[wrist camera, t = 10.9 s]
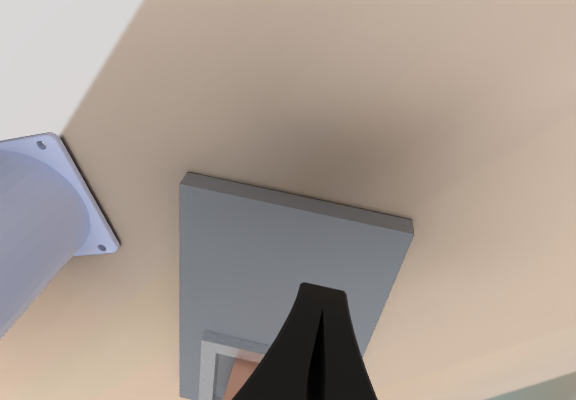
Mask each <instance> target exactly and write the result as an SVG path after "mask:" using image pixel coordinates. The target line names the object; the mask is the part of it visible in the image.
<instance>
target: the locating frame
mask: <svg viewBox="0 0 576 400" xmlns="http://www.w3.org/2000/svg"><path fill="white" fill-rule="evenodd" d="M270 346H271V345H268V344H264V343H260V342H255V341H251V340H247V339H242V338H238V337H233V336H229V335H225V334H220V333H216V332H212V331H207V330H205V332H204V335H203V337H202V340H201V361H200V381H199V400H223V397H220V396H215V387H216V376H217V364H218V354H222V355H227V356H231V357H235V358H240V359H244V360H248V361H253V362H257V363H260V362H261V360H262V359H263V357H264V356H265V354H266V353H267V351H268V349H269V348H270Z"/></svg>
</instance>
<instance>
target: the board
mask: <svg viewBox="0 0 576 400" xmlns="http://www.w3.org/2000/svg"><path fill="white" fill-rule="evenodd" d="M413 236H414V229H413V222H412V220H410V219H405V218H401V217H396V216H391V215H387V214H382V213H377V212H372V211H368V210H363V209H358V208H354V207H349V206H344V205H340V204H335V203H330V202H326V201H321V200H316V199H312V198H307V197H302V196H298V195H293V194H288V193H284V192H279V191H274V190H270V189H265V188H260V187H255V186H251V185H246V184H241V183H237V182H232V181H227V180H223V179H218V178H213V177H209V176H204V175H199V174H195V173H190V172H188V173H187V174H186V176H185V177H184V178H183V180H182V181H181V183H180V397H183V398H187V399H191V400H199V381H200V361H201V340H202V337H203V335H204V332H205V330H207V331H212V332H216V333H220V334H225V335H229V336H233V337H238V338H242V339H247V340H251V341H255V342H260V343H264V344H268V345H272V343H273V342H274V340H275V339H276V337H277V335H278V333H279V332H280V330H281V328H282V326H283V324H284V323H285V321H286V319H287V317H288V315H289V313H290V311H291V309H292V307H293V304H294V302H295V299H296V297H297V294H298V291H299V286H300V284H301V283H303V282H306V283H311V284H315V285H320V286H324V287H329V288H333V289H338V290H342V291H345V293H346V294H347V300H348V306H349V312H350V316H351V321H352V325H353V329H354V333H355V336H356V340H357V343H358V346H359V350H360V353H361V356H362V358H363V355H364V353H365V350H366V348H367V346H368V343H369V341H370V339H371V336H372V334H373V331H374V329H375V327H376V324H377V322H378V320H379V317H380V315H381V312H382V310H383V308H384V305H385V303H386V300H387V298H388V296H389V293H390V291H391V289H392V286H393V284H394V281H395V279H396V277H397V274H398V272H399V269H400V267H401V265H402V262H403V260H404V258H405V255H406V253H407V250H408V248H409V246H410V243H411V241H412V239H413ZM234 362H235V357H231V356H227V355H222V354H218V364H217V376H216V387H215V396H220V397H224V393H225V390H226V387H227V384H228V380H229V377H230V374H231V371H232V368H233V365H234Z"/></svg>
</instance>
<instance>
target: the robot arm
mask: <svg viewBox="0 0 576 400" xmlns="http://www.w3.org/2000/svg"><path fill="white" fill-rule="evenodd" d="M42 142H44V143H45V145H46V146H45V145H44V144H43V143H42ZM119 246H120V245H119V242H118V241H117V239H116V237H115V235H114V234H113V232H112V230H111V228H110V226H109V225H108V223H107V221H106V219H105V217H104V216H103V214H102V212H101V210H100V209H99V207H98V205H97V203H96V201H95V200H94V198H93V196H92V194H91V192H90V191H89V189H88V187H87V185H86V183H85V182H84V180H83V178H82V176H81V175H80V173H79V171H78V169H77V167H76V166H75V164H74V162H73V160H72V158H71V157H70V155H69V153H68V151H67V150H66V148H65V146H64V144H63V142H62V141H61V139H60V138H59V137H58V136H57V135H56V134H54V133H42V134H37V135H31V136H26V137H20V138H14V139H9V140H3V141H0V339H1V338H2V337H3V336H4V335H5V333H6V332H7V331H8V330H9V329H10V328H11V327H12V325H13V324H14V323H15V322H16V321H17V320H18V318H19V317H20V316H21V315H22V314H23V313H24V312H25V310H26V309H27V308H28V307H29V306H30V305H31V303H32V302H33V301H34V300H35V299H36V298H37V297H38V295H39V294H40V293H41V292H42V291H43V290H44V288H45V287H46V286H47V285H48V284H49V283H50V282H51V280H52V279H53V278H54V277H55V276H56V275H57V273H58V272H59V271H60V270H61V269H62V268H63V267H64V265H65V264H66V263H67V262H68V261H69V260H70V258H71V257H72V256H83V255H95V254H107V253H114V252H116V251H117V250H118V248H119ZM231 400H378V399H377V397H376V395H375V392H374V390H373V387H372V384H371V382H370V379H369V376H368V374H367V371H366V368H365V365H364V362H363V359H362V356H361V353H360V350H359V346H358V343H357V340H356V336H355V333H354V329H353V325H352V321H351V316H350V312H349V306H348V300H347V294H346V293H345V291H342V290H338V289H333V288H329V287H324V286H320V285H315V284H311V283H306V282H303V283H301V284H300V286H299V291H298V294H297V297H296V299H295V302H294V304H293V307H292V309H291V311H290V313H289V315H288V317H287V319H286V321H285V323H284V324H283V326H282V328H281V330H280V332H279V333H278V335H277V337H276V339H275V340H274V342H273V343H272V345H271V346H270V348H269V349H268V351H267V353H266V354H265V356H264V357H263V359H262V360H261V362H260V363H259V364H258V366H257V367H256V369H255V370H254V371H253V373H252V374H251V376H250V377H249V378H248V379H247V381H246V382H245V383H244V385H243V386H242V387H241V389H240V390H239V391H238V392H237V393H236V395H235V396H234V397H233V398H232V399H231Z"/></svg>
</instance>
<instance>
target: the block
mask: <svg viewBox="0 0 576 400" xmlns="http://www.w3.org/2000/svg"><path fill="white" fill-rule="evenodd" d="M258 364H259V363H257V362H253V361H248V360H244V359H240V358H235V362H234V365H233V368H232V371H231V374H230V377H229V380H228V384H227V387H226V390H225V393H224V397H223V400H231V399H232V398H233V397H234V396H235V395H236V393H237V392H238V391H239V390H240V389H241V387H242V386H243V385H244V383H245V382H246V381H247V379H248V378H249V377H250V376H251V374H252V373H253V371H254V370H255V369H256V367H257V366H258Z"/></svg>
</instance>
